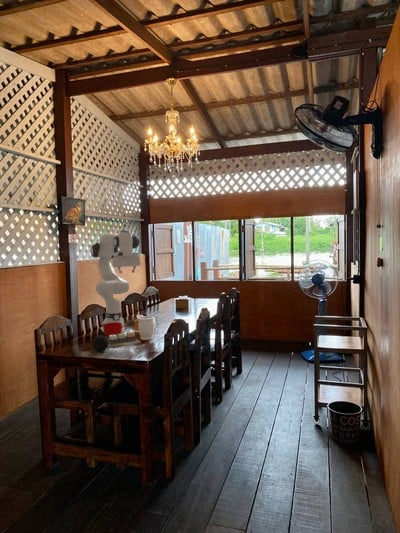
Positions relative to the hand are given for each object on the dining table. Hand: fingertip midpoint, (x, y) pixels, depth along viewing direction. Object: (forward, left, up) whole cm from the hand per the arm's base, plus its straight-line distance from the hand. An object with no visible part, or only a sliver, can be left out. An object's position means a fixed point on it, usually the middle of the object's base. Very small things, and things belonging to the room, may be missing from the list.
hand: (127, 273), depth 273 cm
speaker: (+21, -28, -47) cm, 58 cm away
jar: (+9, +9, -47) cm, 48 cm away
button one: (+12, -16, -43) cm, 47 cm away
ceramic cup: (-6, -8, -47) cm, 48 cm away
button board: (+12, -10, -46) cm, 49 cm away
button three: (+12, -4, -43) cm, 44 cm away
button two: (+12, -10, -43) cm, 45 cm away
